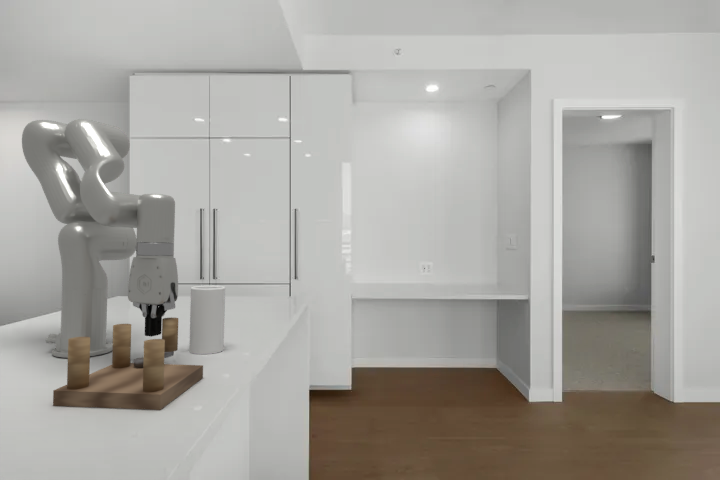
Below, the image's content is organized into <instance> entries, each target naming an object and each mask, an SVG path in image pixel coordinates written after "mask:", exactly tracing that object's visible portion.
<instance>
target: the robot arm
mask: <svg viewBox="0 0 720 480" xmlns="http://www.w3.org/2000/svg"><path fill="white" fill-rule="evenodd" d="M130 146H131V144H130V139H129V137H128V134H127V133H126V132H125V131H124V130H123V129H122V128H119V127H117V126H114V125H111V124H106V123H102V122H99V121H96V120H92V119H87V118H79V119H77V118H76V119H73V120H71V121H70V122H69V123H64V122H59V121H54V120H48V119H36V120H33V121H30V122H29V123H27V124H26V125H25V127H24V128H23V131H22V135H21V147H22V149H21V150H22V154H23V156H24V159H25V161H26V163H27V164H28V166H29V168H30V170H31V171H32V172H33V174H34V176H36V178H37V179H38V181H39V183H40V186H41V187H42V191H43V193H44V196H45V199H46V200H47V203H48V205H49V207H50V210H51V212H52V214H53V216H54V218H55V219H56V220H57V221H58V222H59V223H61V224H64V226H63V227H62V228H61V229H60V231H59V232H58V237H57V244H58V250H59V256H60V263H61V306H60V307H61V308H60V310H61V311H60V312H61V313H60V333H58V334H57V333H50V334H49V335H48V336H47V338H46V339H45V343H46V344H55V347H54V348H53V349H52V351H51V352H52V353H51V355H52V356H53V357H57V358H63V359H64V358H65V359H68V339H70V338H74V337H90V357H94V356H95V357H96V356H100V355H104V354H105V355H106V354H107V353H110V352H112V350H113V343H110V342H107V327H108V326H107V324H108V323H107V317H108V289H109V287H108V280H109V279H108V276H107V273H106V270H105V269H104V267H103V266H102V265H101V262H102V261H122V260H123V261H124V260H126V259H129V258H131V257H132V256H133V255H134V254H135V256H133V257H132V260H131V263H130V264H131V265H130V271H129V277H128V288H127V299H128V301H130V302H131V303H132V306H133V307H134V308H137V309H139V310H140V311H141V316H142V317H143V318H144V336H146V337H150V338H151V337H156V336H159V335H162V319H163V318H162V317H164V316H165V315H166V312H167V311H169V310H174V309H176V302H177V300H178V297H179V294H178V293H179V277H178V276H179V274H178V265H177V260H176V257H175V256H174V254H175V252H174V251H175V227H176V226H175V225H176V224H175V223H176V221H175V219H176V216H175V215H176V202H175V198H174V197H172V196H171V195H167V194H161V193H160V194H159V193H144V194H140V195H139V194H132V193H125V192H116V191H111V190H109V188H108V187H107V185H106V184H108V183H111V182H112V181H115V180H116V179H118V178H119V177H120V176H121V175H122V174H123V173H124V170H125V162H124V158H126V156H127V155H128V153H129V151H130ZM62 157H63V158H69V159H74V160H77V161H78V163H79V164H80V166H81V168H82V170H83V171H84V173H83V175H82V176H81V178H80V176H79V174H78V172H77V171H76V170H75V168H74V167H73V166H72V165H70V164H69V163H68V162H67V161H66V160H65V159H63V158H62ZM134 229H136V231H135V230H134ZM135 232H136V233H135ZM135 252H136V253H135ZM100 261H101V262H100Z"/></svg>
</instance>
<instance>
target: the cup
mask: <svg viewBox="0 0 720 480" xmlns="http://www.w3.org/2000/svg"><path fill="white" fill-rule="evenodd" d="M225 303H226V286H224V285H223V286H222V285H194V286H191V287H190V306H189V307H190V309H189V310H190V314H189V316H190V317H189V350H188V351H189V353H190V354H195V355H212V353H214V354H218V353H217V352H219V353H221V351H222V352H223V351H224V350H225V315H226V314H225V313H226V311H225V310H226V309H225V308H226V304H225Z"/></svg>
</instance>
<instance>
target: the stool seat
mask: <svg viewBox="0 0 720 480" xmlns="http://www.w3.org/2000/svg"><path fill="white" fill-rule="evenodd" d="M112 344H113V350H112V351H111V352H112V353H111V355H112V356H111V357H112V358H111V364H109V365H108V366H106V367H103V368H100V369H98V370H96V371H94V372H92V373H90V359H91V356H90V337H74V338H70V339H68V358H67V369H66V370H67V376H66V378H67V379H66V380H67V381H66V384H65V385H63V386H60V387H59V388H56V389H54V390H53V392H52V393H53V395H52V406H53V407H54V406H55V407H73V408H74V407H76V408H77V407H78V408H101V409H123V410H124V409H127V410H147V411H148V410H152V411H153V410H154V411H162V410H163V409H164V408H165V407H166V406H168V405H169V404H170V403H171V402H173V401H174V400H175V399H177V398H178V397H180V396H181V395H182V394H184V393H185V392H187V391H188V390H189V389H190V388H191V387H193V386H194V385H195V384H198V382H200V381H201V380H202V379H204V365H198V364H176V363H175V364H173V363H171V364H170V363H167V364H166V363H165V359H164V351H165V340H163V339H162V338H153V339H152V338H151V339H146V340H144V341H143V358H144V361H143V367H134V362H131V350H132V324H131V323H118V324H113V325H112Z"/></svg>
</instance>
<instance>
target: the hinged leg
mask: <svg viewBox="0 0 720 480" xmlns="http://www.w3.org/2000/svg"><path fill="white" fill-rule="evenodd" d="M161 339H163V340H165V351H164V360H165V359H168V358H170V357H172V356H174V355H175V354H174V353H175V352H177V351H179V350H178V347H179V346H178V345H179V317H164V318H162V326H161ZM143 361H144V357H137V358H134V359H133V363H134V367H143Z"/></svg>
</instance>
